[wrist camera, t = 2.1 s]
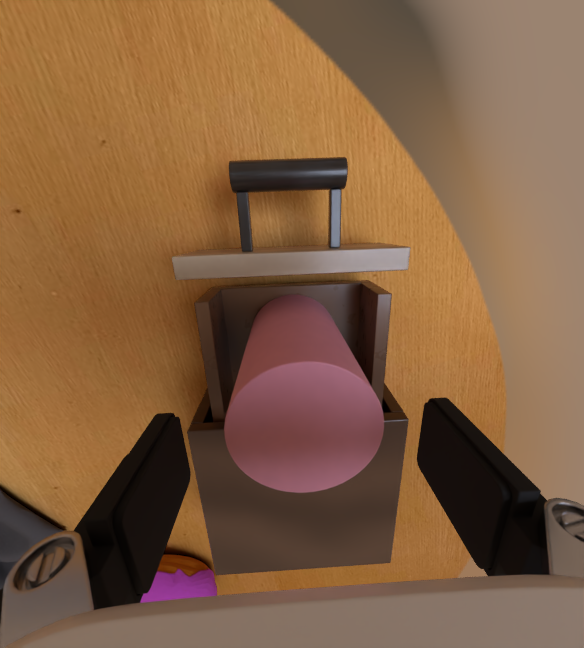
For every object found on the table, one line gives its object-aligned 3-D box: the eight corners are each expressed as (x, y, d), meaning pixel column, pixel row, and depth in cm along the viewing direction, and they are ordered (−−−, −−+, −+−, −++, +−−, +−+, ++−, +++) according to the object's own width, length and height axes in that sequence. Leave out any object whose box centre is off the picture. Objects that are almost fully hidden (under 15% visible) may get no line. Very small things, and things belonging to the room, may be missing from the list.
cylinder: (247, 296, 19) (213, 366, 9) (335, 292, 19) (391, 356, 9) (254, 374, 21) (232, 497, 11) (334, 370, 21) (379, 488, 11)
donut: (193, 610, 33) (180, 668, 29) (111, 585, 31) (83, 643, 27) (235, 561, 30) (227, 616, 26) (148, 530, 28) (124, 584, 24)
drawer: (186, 174, 17) (152, 154, 12) (384, 167, 17) (421, 146, 13) (220, 405, 23) (205, 450, 18) (369, 397, 23) (390, 439, 18)
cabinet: (212, 376, 23) (186, 431, 16) (374, 367, 23) (409, 419, 17) (230, 496, 27) (215, 575, 21) (365, 487, 28) (390, 563, 21)
